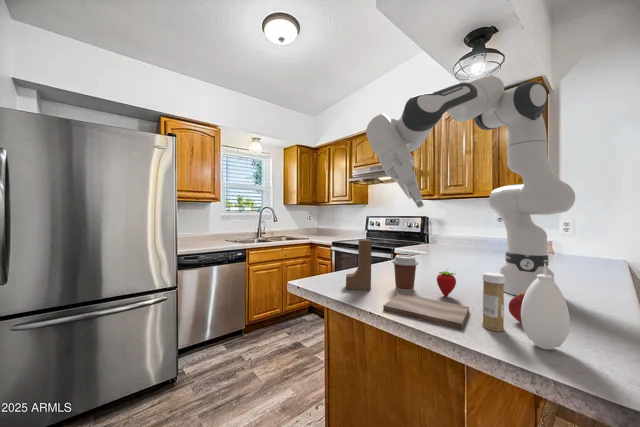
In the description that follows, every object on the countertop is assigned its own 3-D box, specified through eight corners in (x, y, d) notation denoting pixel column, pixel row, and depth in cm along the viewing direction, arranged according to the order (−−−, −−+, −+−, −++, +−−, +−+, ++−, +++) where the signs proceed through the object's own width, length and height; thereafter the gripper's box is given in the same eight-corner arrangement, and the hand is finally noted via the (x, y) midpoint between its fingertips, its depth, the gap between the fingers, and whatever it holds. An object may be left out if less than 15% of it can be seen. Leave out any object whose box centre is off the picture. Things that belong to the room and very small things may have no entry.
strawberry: (452, 293, 91) (453, 265, 91) (458, 301, 83) (459, 270, 83) (434, 292, 92) (435, 264, 92) (438, 299, 85) (439, 268, 85)
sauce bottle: (522, 350, 54) (524, 263, 54) (518, 335, 61) (519, 258, 60) (574, 362, 50) (576, 268, 50) (563, 344, 56) (564, 262, 56)
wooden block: (345, 289, 94) (346, 240, 94) (346, 285, 99) (346, 238, 99) (370, 290, 94) (371, 240, 93) (369, 286, 98) (370, 239, 98)
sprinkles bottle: (508, 331, 63) (509, 275, 62) (493, 333, 61) (494, 276, 61) (492, 323, 67) (493, 271, 67) (477, 324, 66) (478, 271, 66)
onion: (542, 329, 64) (542, 296, 64) (515, 327, 65) (516, 295, 65) (528, 319, 69) (528, 289, 69) (504, 317, 71) (504, 288, 71)
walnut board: (399, 297, 86) (399, 293, 86) (468, 312, 74) (469, 306, 74) (383, 310, 75) (383, 305, 75) (461, 329, 63) (461, 323, 63)
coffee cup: (422, 289, 95) (423, 257, 95) (408, 294, 90) (408, 259, 90) (401, 283, 102) (402, 253, 102) (386, 287, 97) (387, 255, 97)
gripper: (404, 143, 66) (431, 189, 62) (410, 168, 85) (431, 205, 80) (381, 156, 68) (406, 201, 64) (392, 178, 86) (412, 214, 82)
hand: (420, 203), depth 72 cm, fingers open, 8 cm apart
